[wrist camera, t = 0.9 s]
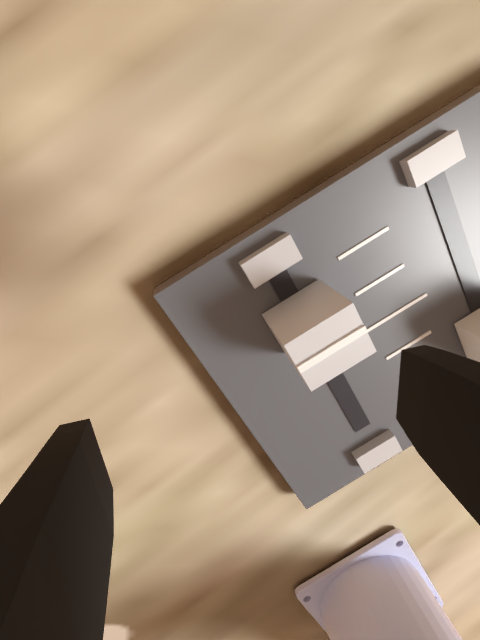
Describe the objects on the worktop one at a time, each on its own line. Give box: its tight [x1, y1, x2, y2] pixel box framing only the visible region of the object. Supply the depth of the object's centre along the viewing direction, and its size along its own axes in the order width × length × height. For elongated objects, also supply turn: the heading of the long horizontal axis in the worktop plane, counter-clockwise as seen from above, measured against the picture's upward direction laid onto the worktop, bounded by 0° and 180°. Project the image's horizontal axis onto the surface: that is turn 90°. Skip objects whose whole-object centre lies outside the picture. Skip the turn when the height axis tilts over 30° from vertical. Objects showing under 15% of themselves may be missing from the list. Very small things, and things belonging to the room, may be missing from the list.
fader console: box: [153, 84, 480, 509], centre depth 20 cm, size 15×18×2 cm
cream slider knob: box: [262, 279, 377, 392], centre depth 17 cm, size 2×3×4 cm
